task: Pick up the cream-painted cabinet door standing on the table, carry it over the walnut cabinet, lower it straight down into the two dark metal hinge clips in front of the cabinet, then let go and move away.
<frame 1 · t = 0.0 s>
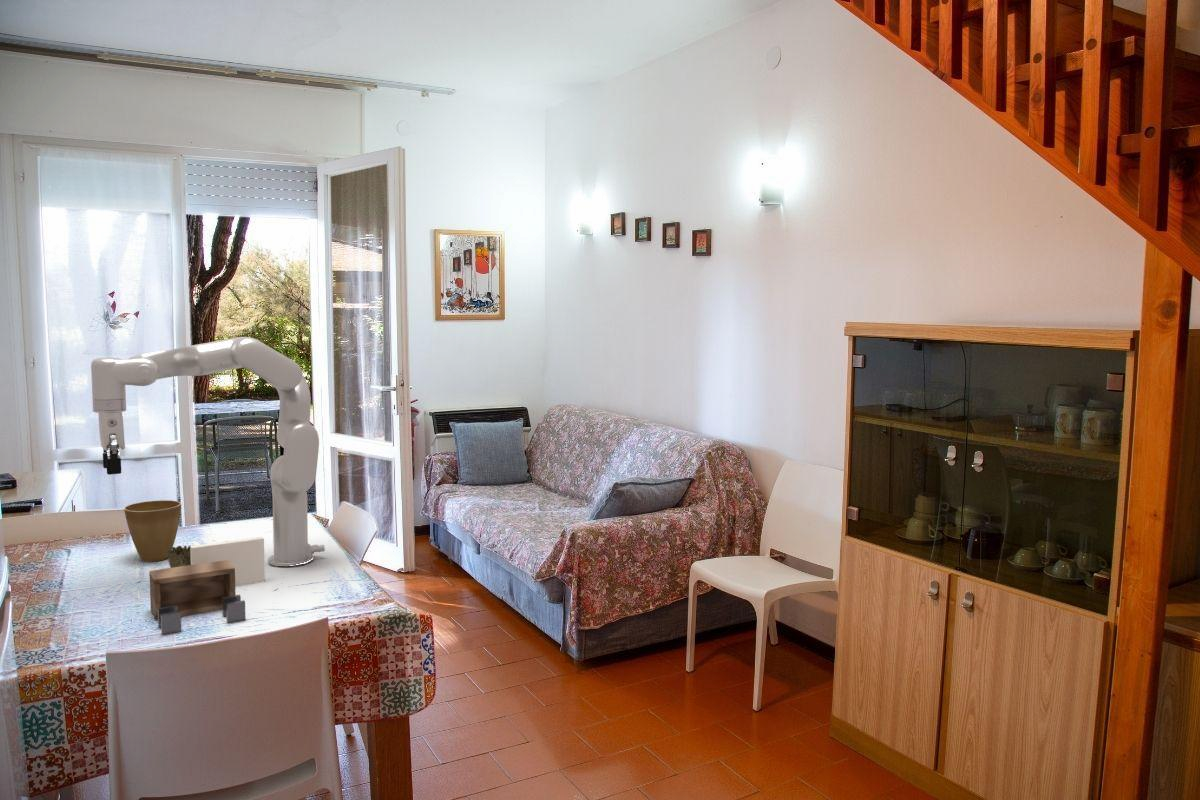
hand: (112, 470, 225), 31 cm above the table, tool pointing down, fingers open, 9 cm apart
plant pot: (154, 558, 254), on the table
hinge clips: (202, 623, 204), on the table
cabinet door: (228, 586, 231), on the table
cabinet body: (193, 608, 213), on the table
dark textured ornament: (183, 577, 237), on the table
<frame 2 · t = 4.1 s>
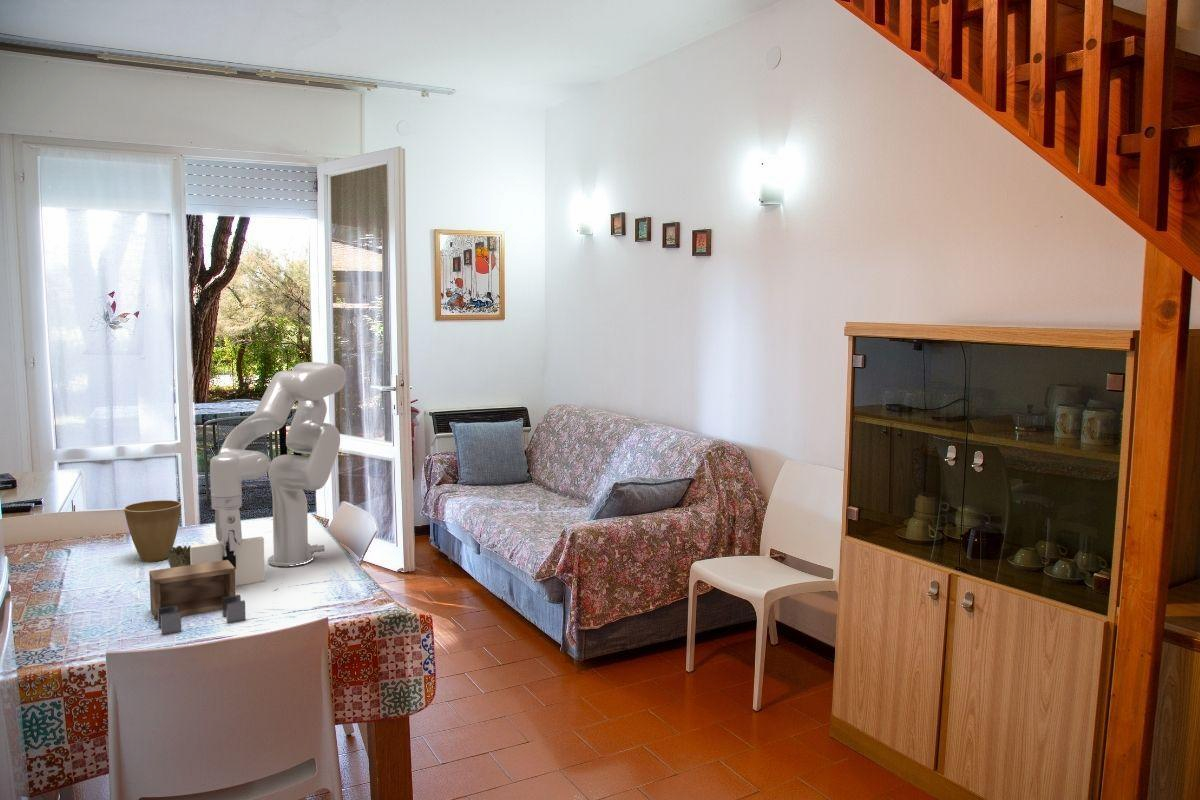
hand: (228, 568, 230), 5 cm above the table, tool pointing down, fingers closed on cabinet door, 2 cm apart
cabinet door: (228, 585, 231), on the table, touching gripper
everything else where it was.
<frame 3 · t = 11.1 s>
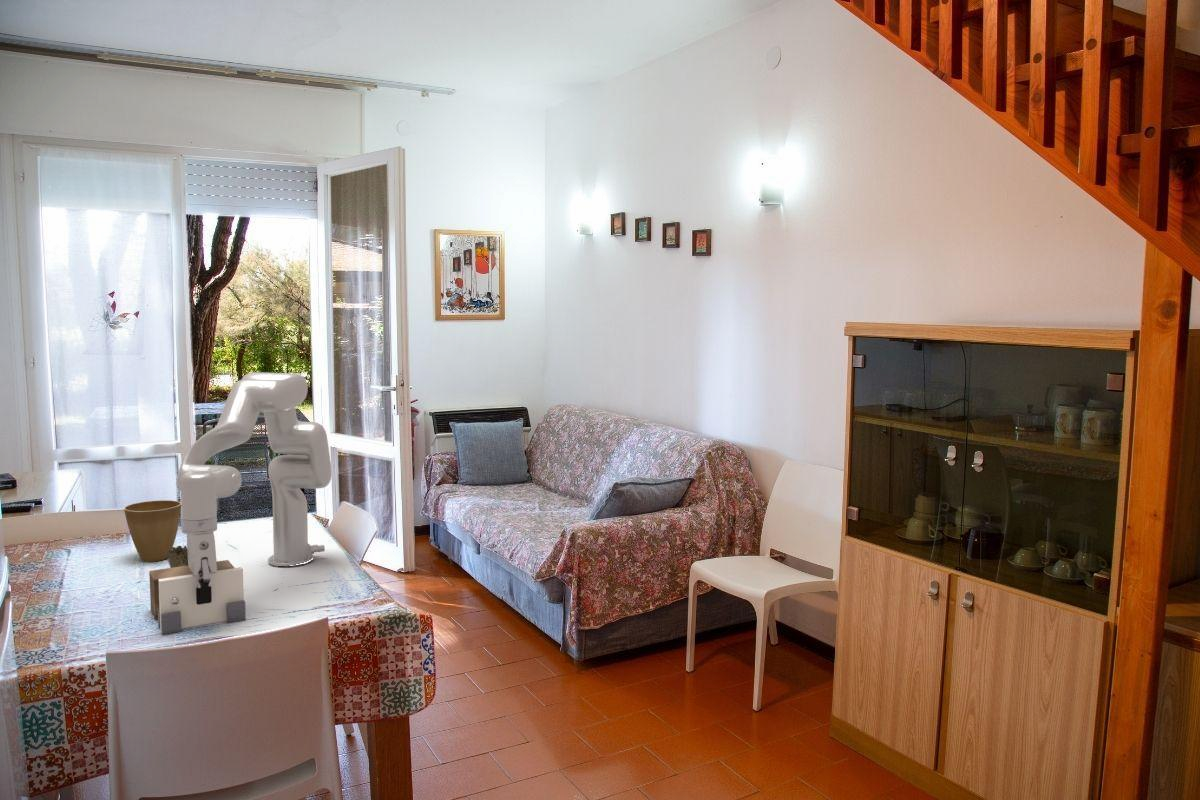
hand: (201, 599, 203), 6 cm above the table, tool pointing down, fingers open, 4 cm apart
cabinet door: (203, 623, 204), on the table
everything else where it was.
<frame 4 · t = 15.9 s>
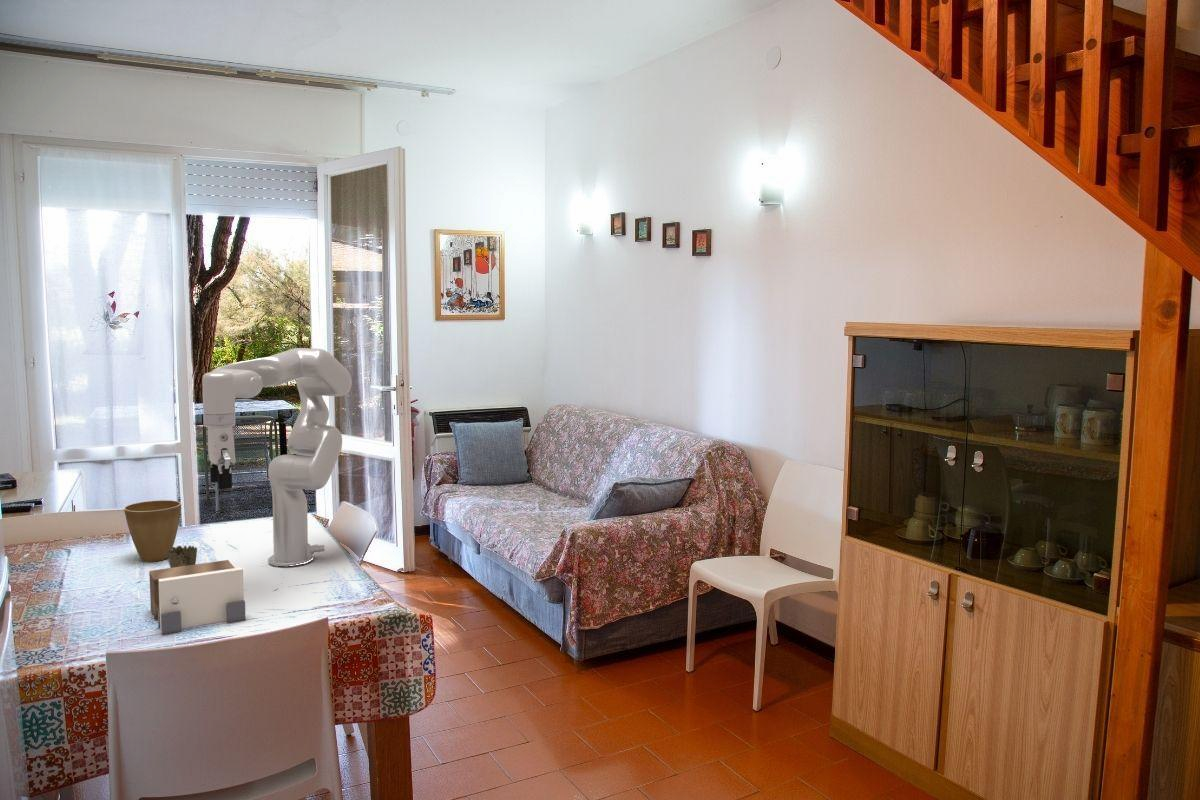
hand: (221, 485, 223), 28 cm above the table, tool pointing down, fingers open, 9 cm apart
nothing on the table moved.
at the end: cabinet door 0.2 cm off-centre on the hinge clips, point 0.0 cm above the hinge clips's base; cabinet door tilted 0°; the gripper is holding nothing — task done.
